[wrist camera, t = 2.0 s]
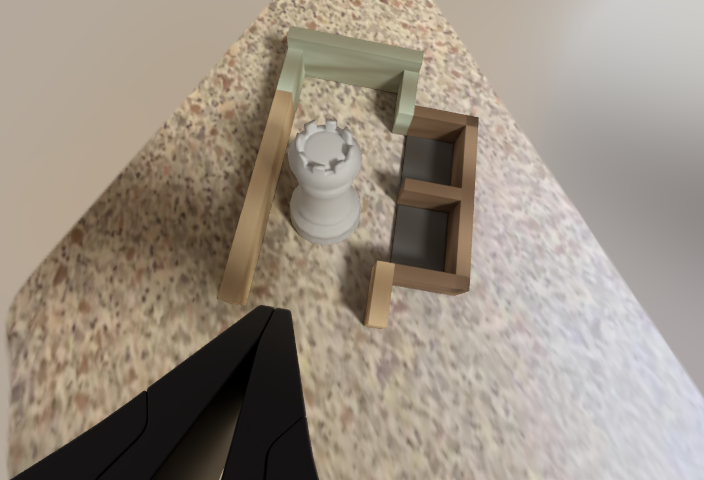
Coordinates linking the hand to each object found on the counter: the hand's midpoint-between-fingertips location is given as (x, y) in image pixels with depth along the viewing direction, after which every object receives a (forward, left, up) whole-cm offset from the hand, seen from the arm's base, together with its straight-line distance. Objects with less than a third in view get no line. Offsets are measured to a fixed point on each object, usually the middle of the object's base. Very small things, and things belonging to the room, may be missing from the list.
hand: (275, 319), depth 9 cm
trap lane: (+8, +5, -11) cm, 15 cm away
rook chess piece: (+5, +5, -11) cm, 13 cm away
